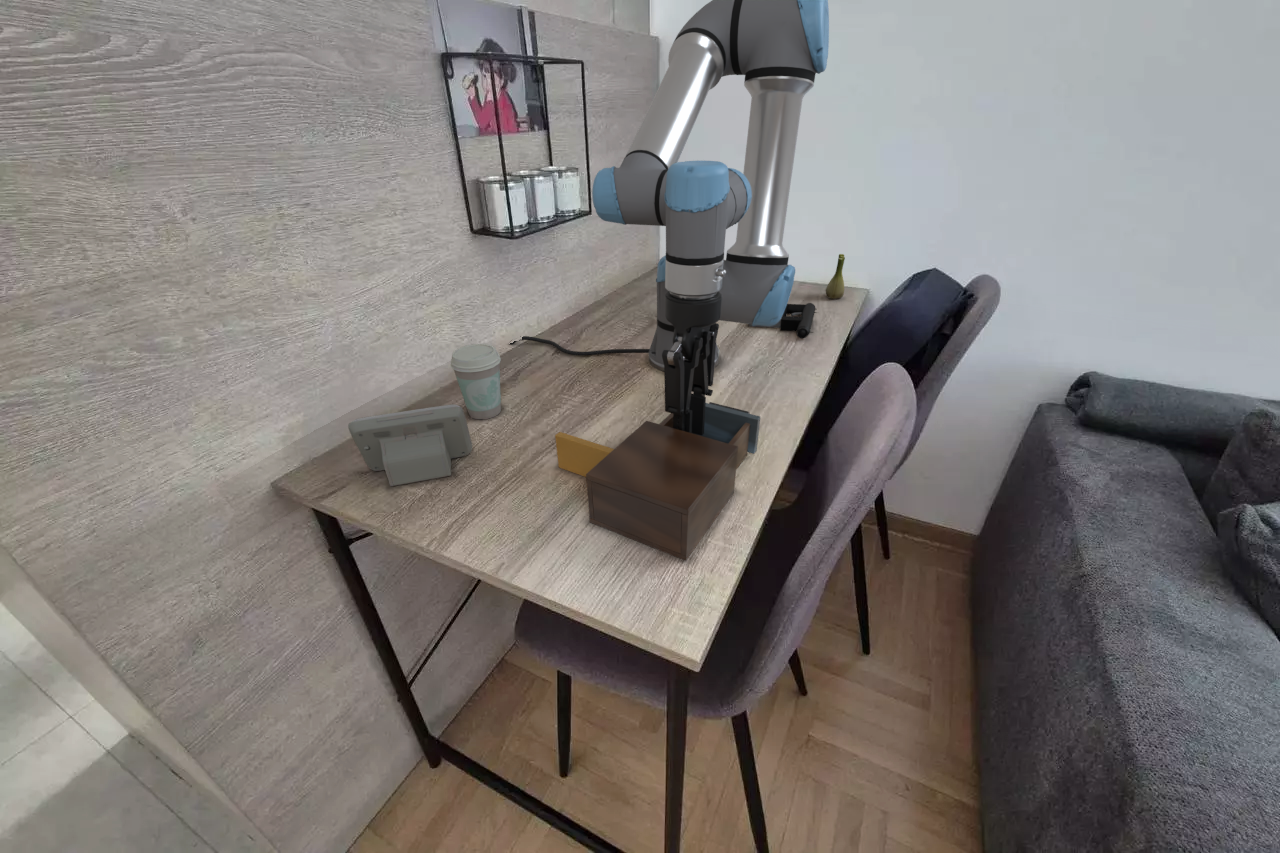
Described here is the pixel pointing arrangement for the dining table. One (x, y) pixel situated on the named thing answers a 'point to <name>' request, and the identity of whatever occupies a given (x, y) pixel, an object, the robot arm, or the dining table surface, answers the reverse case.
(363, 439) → the digital clock
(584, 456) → the upright yellow panel
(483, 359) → the coffee cup
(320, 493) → the dining table surface
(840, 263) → the green gourd
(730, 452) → the cabinet
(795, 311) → the door handle
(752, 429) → the drawer
